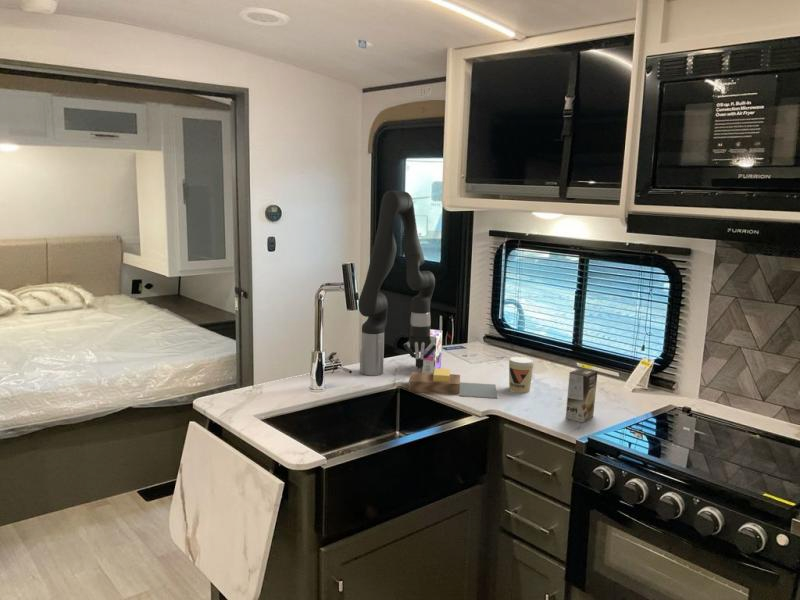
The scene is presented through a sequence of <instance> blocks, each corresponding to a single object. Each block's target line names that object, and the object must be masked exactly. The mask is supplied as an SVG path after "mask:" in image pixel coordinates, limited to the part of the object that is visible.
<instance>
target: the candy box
mask: <svg viewBox="0 0 800 600" xmlns="http://www.w3.org/2000/svg"><path fill="white" fill-rule="evenodd" d="M430 339H431V342H432V343H433V344H436V348H435V350H434V351H433V352H432V353H431V354H430V355H429V357H428V358H424V359H423V367H421V369H420V371H421V373H434V369H435V368H440V369H441V367H442V351H443V350H442V348H443V347H442V345H443V330H442V329H441V330H440V329H433V328H432V329H431V328H430ZM429 349H430V345H429V346H428V347H427V349H426V350H424V354H426V353H427V352H428V351H429Z"/></svg>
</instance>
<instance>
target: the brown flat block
mask: <svg viewBox="0 0 800 600" xmlns="http://www.w3.org/2000/svg"><path fill="white" fill-rule="evenodd" d="M433 375H434V373H421V372H419V371H418V372H417V371H411V373H410V376H409V380H408V392H411V393H412V392H413V393H415V392H416V393H428V394H429V393H430V394H445V395H446V394H448V395H449V394H450V395H459V392H460V382H461V374H456V373H455V374H451V373H450V378H449V382H436V381H433Z"/></svg>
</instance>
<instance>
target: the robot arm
mask: <svg viewBox="0 0 800 600" xmlns="http://www.w3.org/2000/svg"><path fill="white" fill-rule="evenodd" d="M380 202H381V203H380V209H379V216H378V218H379V219H378V224H377V229H376V235H375V239H374V244H373V246H372V247H373V248H372V252H371V255H370V260H369V261H370V262H369V265H368V269H367V272H366V278H365V280H364V283H363V287H362V289H361V293H360V294H359V298H358V306H357V307H358V310H359V313H360V314H361V315H362V317H365V318H367V319H366V321H365V322H364V323H363V324H362V326H361V347H360V348H361V349H360V351H359V353H360V354H359V374H360V375H366V376H380V375H383V374H384V362H385V361H384V360H385V359H384V356H385V355H384V354H385V329H386V326H387V322H388V311H389V310H388V309H389V307H388V305H389V303H388V299H387V297H386V295H385V294H384V293H382V292H380V290H381V286H382V285H383V283H384V281H385V279H387V276H388V275H389V273H390V271H391V270H392V268H393V266H394V263H395V259H396V256H397V247H398V246H397V242H396V238H395V236H394V235H395V234H394V225H395V220H396V217H397V216H399V217H400V220H401V222H402V226H403V232H402V238H401V239H402V240H401V249H402V253H403V256H404V260H405V262H406V283H407V285H408V286H409V288H410V289H411V290H412V291H415V292H417V291H418V294H417V295H415V296H413V297H412V298H411V314H410V329H409V330H410V333H409V335H410V336H409V339H408V341H407V342H404V344H403V348H404V349H405V350H406V352H407V353H408V354H409V355H410V357H411V358H414V359H415V367H416V368H417V369H418V370H419V369H420V370H421V367H423V359H424V358H428V357H429V355H430V354H431V353H432V352H433V351H434V350H435V348H436V344H433V343H432V342H431V339H430V329H431V323H432V321H431V300H432V297H433V294H434V290H435V286H436V278H435V275H434V273H433V272H431V271H430V270H422V271H421V270H420V266H422V265H424V263H425V257H424V252H423V249H422V246H421V243H420V239H419V235H418V234H419V233H418V229H417V227H418V226H417V221H416V213H415V206H414V202H413V198H412V196H411V194H410V193H409V192H407V191H401V190H388V191H386V192H385V193H384V194H383V197H382V198H381V201H380ZM429 345H430V349H429V351H428V352H427V353H426V354H424V350H426V349H427V347H428V346H429ZM411 347H412V348H413V349H414V351H415V352H414V351H413V349H412V348H411Z"/></svg>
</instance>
